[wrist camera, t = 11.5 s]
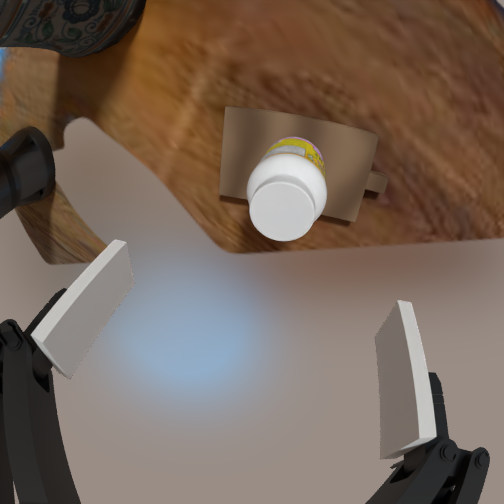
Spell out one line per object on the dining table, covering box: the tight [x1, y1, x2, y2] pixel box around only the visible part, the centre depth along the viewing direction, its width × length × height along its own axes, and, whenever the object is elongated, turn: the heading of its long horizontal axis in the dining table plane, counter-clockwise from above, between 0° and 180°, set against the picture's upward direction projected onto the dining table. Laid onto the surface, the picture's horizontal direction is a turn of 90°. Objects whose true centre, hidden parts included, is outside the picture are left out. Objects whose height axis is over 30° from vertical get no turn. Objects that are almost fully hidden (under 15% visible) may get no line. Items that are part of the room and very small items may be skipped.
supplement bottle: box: [247, 137, 327, 241], centre depth 24 cm, size 7×7×13 cm
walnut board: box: [219, 106, 389, 222], centre depth 30 cm, size 19×11×2 cm, turn 84°
